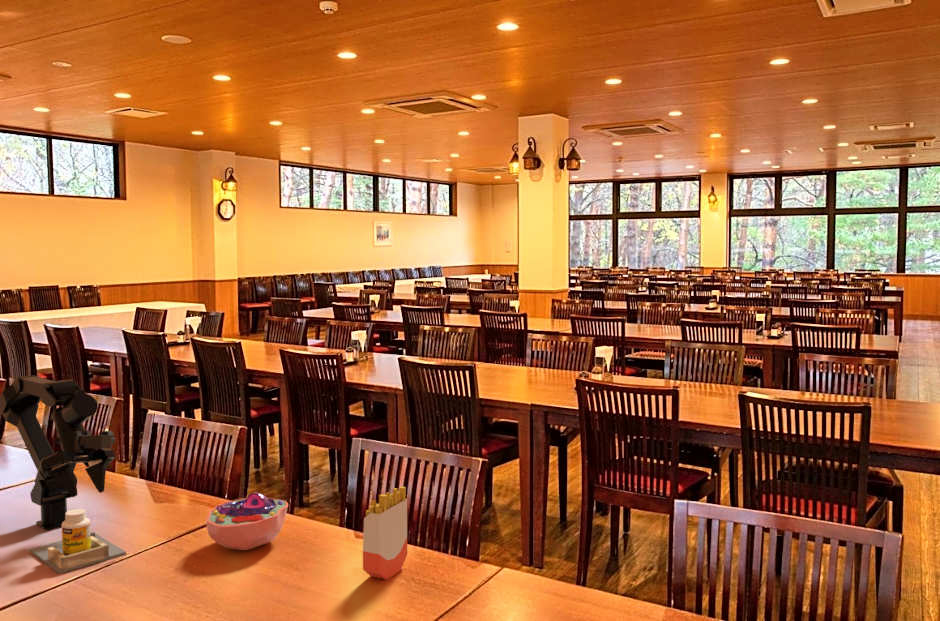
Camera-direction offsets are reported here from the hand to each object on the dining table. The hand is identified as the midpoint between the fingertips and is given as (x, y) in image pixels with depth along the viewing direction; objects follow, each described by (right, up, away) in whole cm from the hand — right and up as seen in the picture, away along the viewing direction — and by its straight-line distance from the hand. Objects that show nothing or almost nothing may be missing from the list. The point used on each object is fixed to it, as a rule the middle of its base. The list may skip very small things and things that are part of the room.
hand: (88, 494), depth 181 cm
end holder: (+2, -12, -10) cm, 16 cm away
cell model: (+37, -12, -1) cm, 39 cm away
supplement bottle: (+2, -12, -10) cm, 15 cm away
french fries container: (+71, -13, -16) cm, 74 cm away
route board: (0, -12, -6) cm, 13 cm away
